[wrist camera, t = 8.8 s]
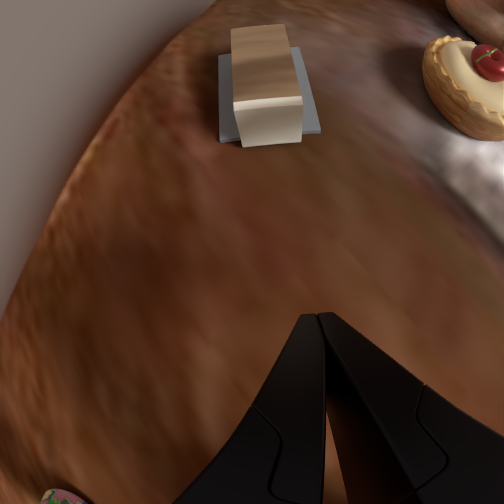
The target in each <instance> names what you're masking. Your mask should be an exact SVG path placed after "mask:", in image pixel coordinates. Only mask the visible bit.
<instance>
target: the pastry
mask: <svg viewBox="0 0 504 504" xmlns="http://www.w3.org/2000/svg"><path fill="white" fill-rule="evenodd" d="M422 73H423V80H424V84H425V87H426V90H427V93H428V95H429V97H430V99H431V101H432V103H433V104H434V106H435V107H436V108H437V110H438V111H439V112H440V113H441V114H442V116H443V117H444V118H445V119H447V120H448V121H449V122H450V123H451V124H452V125H453V126H454V127H456V128H457V129H459V130H460V131H462V132H463V133H465V134H466V135H468V136H470V137H473V138H475V139H479V140H483V141H502V140H504V54H503V53H502V52H501V51H499V50H498V49H497V48H494V47H492V46H490V45H486V44H480V45H476V44H475V43H474V42H472V41H464V40H462V39H461V38H458V37H454V38H451V37H450V36H445V37H441V38H438V39H435V40H432V41H430V42H428V44H427V45H426V48H425V52H424V56H423V61H422Z"/></svg>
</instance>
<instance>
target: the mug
mask: <svg viewBox="0 0 504 504" xmlns="http://www.w3.org/2000/svg"><path fill="white" fill-rule="evenodd" d="M39 504H88V503H87V502H86V501H84V500H83V499H81V498H80V497H78V496H76V495H75V494H73V493H71V492H68V491H65V490H62V489H50V490H48V491H46V492H45V494H44V495H43V498H42V500H41V502H40V503H39Z"/></svg>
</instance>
